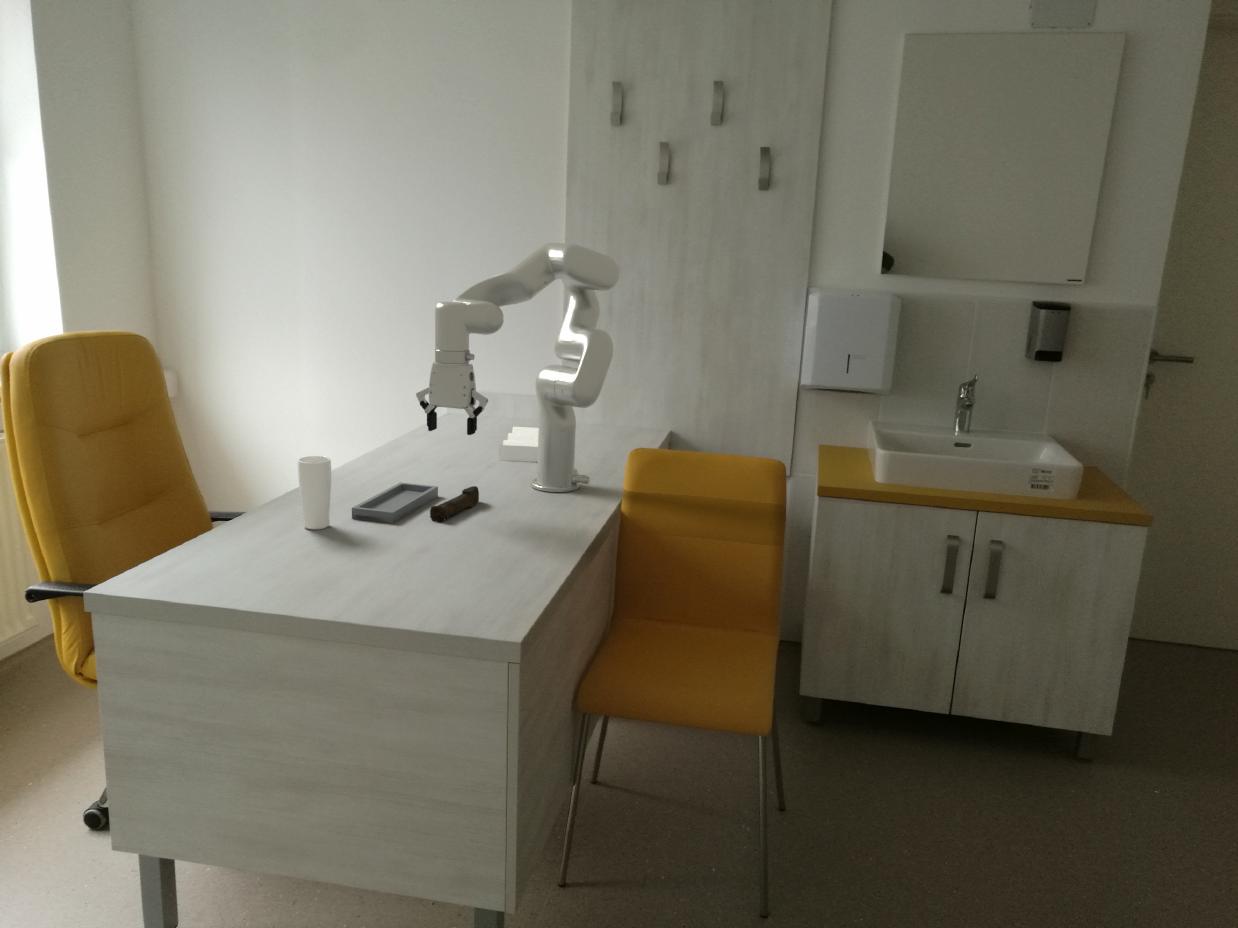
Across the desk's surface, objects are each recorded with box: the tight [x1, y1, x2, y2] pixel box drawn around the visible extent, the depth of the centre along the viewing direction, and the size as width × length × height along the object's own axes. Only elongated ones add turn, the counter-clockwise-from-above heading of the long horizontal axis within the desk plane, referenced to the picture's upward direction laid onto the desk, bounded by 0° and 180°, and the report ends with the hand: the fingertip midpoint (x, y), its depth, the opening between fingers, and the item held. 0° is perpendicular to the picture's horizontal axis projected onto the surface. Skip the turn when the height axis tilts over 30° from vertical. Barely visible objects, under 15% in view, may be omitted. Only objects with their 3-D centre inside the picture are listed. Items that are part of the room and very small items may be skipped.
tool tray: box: [351, 481, 439, 524], centre depth 220 cm, size 10×24×2 cm, turn 167°
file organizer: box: [498, 426, 539, 463], centre depth 286 cm, size 13×35×5 cm, turn 179°
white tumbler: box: [297, 455, 332, 531], centre depth 201 cm, size 7×7×15 cm
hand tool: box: [429, 485, 480, 523], centre depth 218 cm, size 19×4×5 cm, turn 157°
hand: (451, 432), depth 215 cm, fingers open, 9 cm apart
